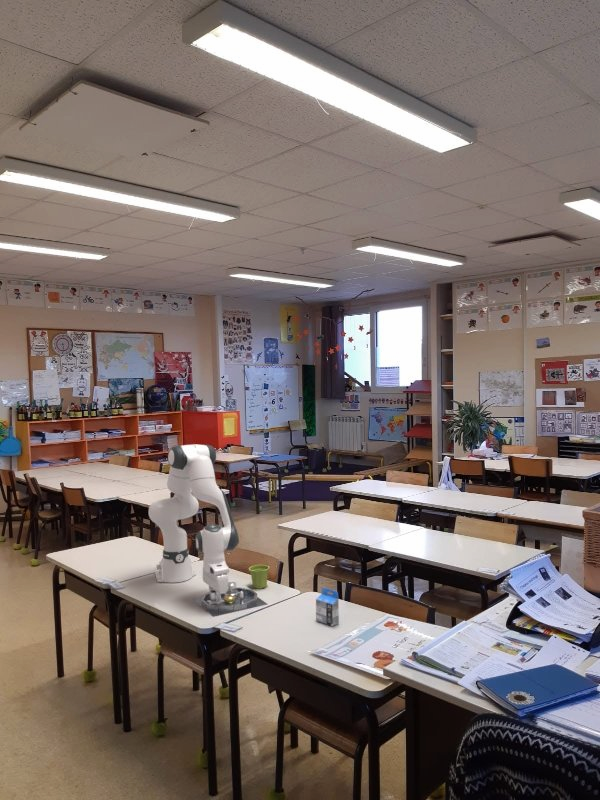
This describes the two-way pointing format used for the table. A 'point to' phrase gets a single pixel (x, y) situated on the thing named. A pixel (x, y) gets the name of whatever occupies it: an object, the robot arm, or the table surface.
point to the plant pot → (259, 575)
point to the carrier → (231, 601)
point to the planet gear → (213, 600)
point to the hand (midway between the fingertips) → (215, 598)
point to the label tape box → (327, 607)
